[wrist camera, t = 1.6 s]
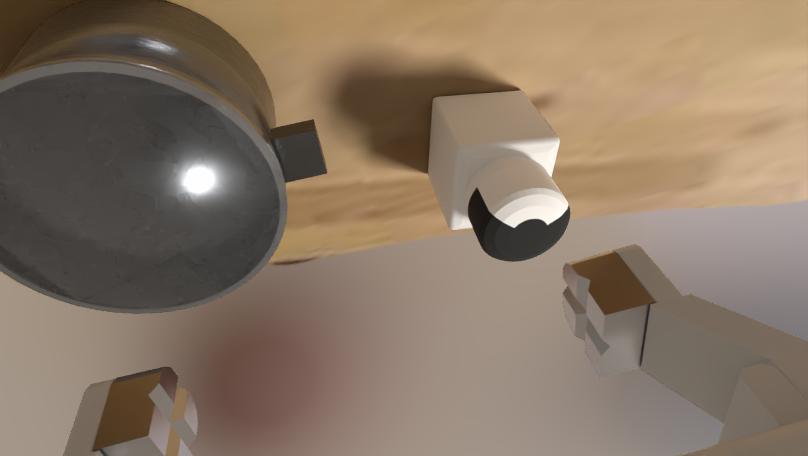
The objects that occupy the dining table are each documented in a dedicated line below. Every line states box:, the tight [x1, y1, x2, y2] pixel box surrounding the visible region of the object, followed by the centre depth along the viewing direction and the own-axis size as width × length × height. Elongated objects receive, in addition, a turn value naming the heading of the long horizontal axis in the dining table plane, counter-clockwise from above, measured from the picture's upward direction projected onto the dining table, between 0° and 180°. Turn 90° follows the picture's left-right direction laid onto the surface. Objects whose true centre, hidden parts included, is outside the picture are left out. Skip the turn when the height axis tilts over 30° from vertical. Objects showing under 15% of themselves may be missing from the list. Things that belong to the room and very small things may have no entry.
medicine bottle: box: [428, 91, 570, 262], centre depth 39 cm, size 7×7×12 cm
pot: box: [0, 0, 327, 314], centre depth 34 cm, size 17×22×10 cm
